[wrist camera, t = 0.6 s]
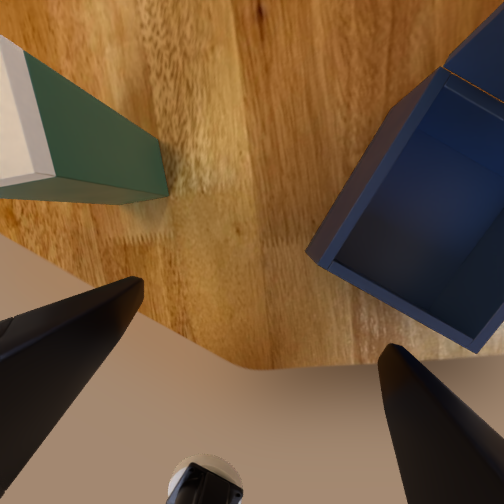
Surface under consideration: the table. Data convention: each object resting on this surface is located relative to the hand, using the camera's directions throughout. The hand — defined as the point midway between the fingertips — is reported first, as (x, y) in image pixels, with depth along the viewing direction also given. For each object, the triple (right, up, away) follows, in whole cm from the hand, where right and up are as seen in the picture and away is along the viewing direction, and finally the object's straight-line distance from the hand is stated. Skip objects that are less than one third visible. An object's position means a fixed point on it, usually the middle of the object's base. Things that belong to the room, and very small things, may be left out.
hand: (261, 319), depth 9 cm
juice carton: (-11, +10, +13) cm, 20 cm away
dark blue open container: (+13, +5, +12) cm, 19 cm away
